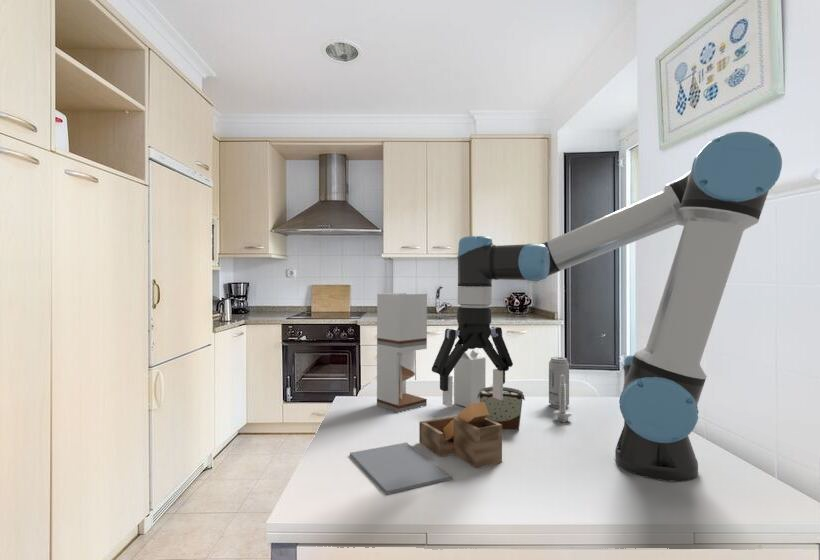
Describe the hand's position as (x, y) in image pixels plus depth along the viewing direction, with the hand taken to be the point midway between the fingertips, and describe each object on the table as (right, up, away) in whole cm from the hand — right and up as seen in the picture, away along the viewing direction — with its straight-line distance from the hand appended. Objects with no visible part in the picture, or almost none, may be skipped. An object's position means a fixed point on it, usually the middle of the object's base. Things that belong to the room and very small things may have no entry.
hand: (473, 402), depth 97 cm
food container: (+10, -12, +20) cm, 26 cm away
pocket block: (-1, -12, +3) cm, 12 cm away
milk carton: (+5, -13, +41) cm, 43 cm away
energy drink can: (+33, -13, +40) cm, 53 cm away
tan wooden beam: (-1, -7, +2) cm, 7 cm away
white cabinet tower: (-17, -12, +40) cm, 45 cm away
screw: (+29, -13, +25) cm, 40 cm away
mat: (-17, -12, -6) cm, 21 cm away
